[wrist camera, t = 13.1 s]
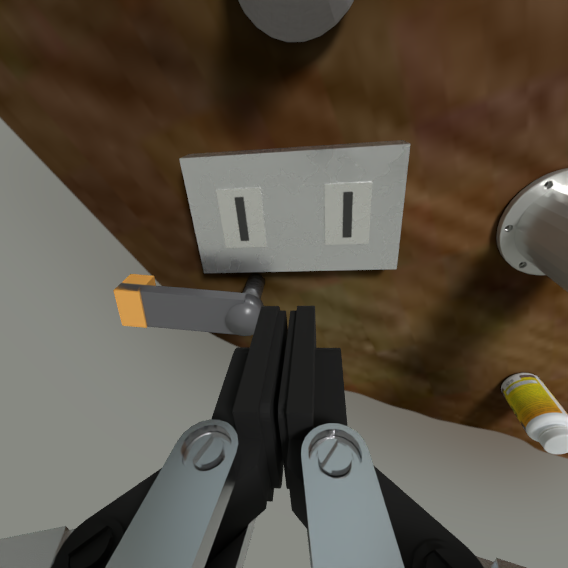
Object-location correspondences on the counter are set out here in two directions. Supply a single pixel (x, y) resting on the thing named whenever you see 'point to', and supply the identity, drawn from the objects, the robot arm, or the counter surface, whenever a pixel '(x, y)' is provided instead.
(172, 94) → the counter surface
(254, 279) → the pivot post
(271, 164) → the panel
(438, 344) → the counter surface
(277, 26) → the coffee pot
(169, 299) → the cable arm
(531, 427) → the supplement bottle
